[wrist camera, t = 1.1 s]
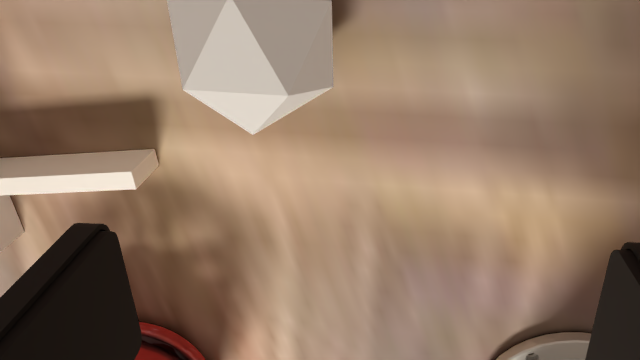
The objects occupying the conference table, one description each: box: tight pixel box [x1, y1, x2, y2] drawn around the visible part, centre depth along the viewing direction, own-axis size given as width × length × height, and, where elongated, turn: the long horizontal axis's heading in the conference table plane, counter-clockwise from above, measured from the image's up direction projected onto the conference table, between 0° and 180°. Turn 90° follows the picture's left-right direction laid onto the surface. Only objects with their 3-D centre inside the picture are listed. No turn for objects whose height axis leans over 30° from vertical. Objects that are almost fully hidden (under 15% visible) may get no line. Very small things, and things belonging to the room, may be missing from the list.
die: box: [167, 0, 333, 135], centre depth 28 cm, size 8×9×10 cm
